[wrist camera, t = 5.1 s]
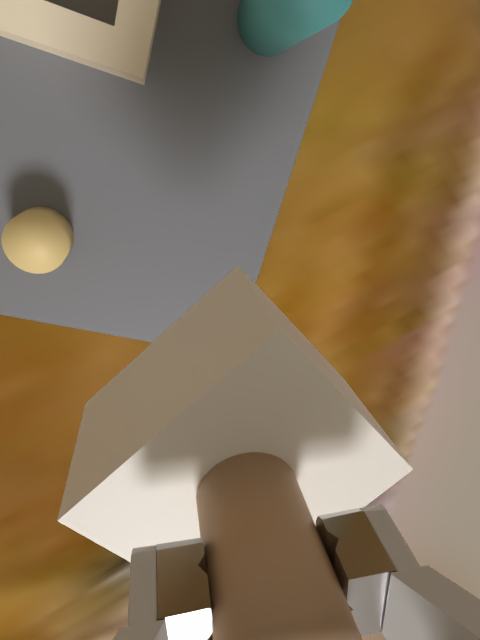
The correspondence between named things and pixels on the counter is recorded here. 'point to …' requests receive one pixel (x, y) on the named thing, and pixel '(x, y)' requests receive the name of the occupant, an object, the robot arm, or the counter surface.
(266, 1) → the pin
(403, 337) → the counter surface
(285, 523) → the cover
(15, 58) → the board
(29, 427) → the counter surface
